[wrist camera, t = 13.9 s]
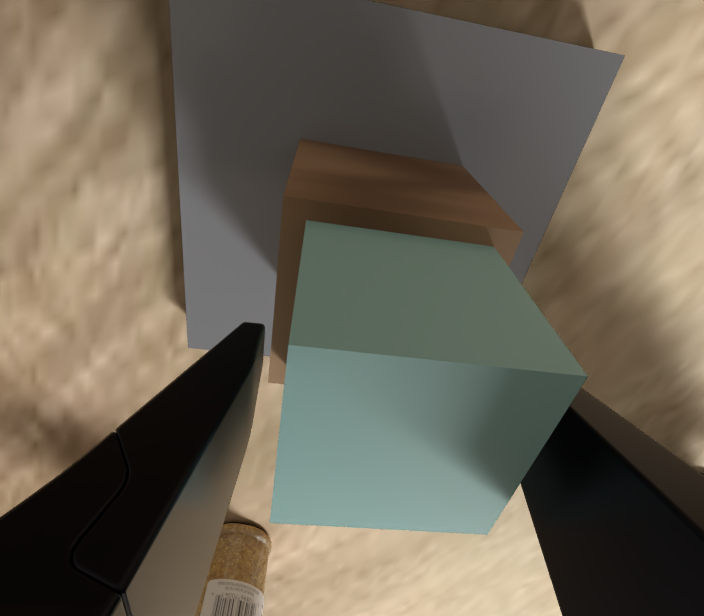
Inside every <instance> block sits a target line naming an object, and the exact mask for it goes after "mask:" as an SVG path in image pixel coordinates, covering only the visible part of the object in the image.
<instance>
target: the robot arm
mask: <svg viewBox="0 0 704 616" xmlns="http://www.w3.org/2000/svg"><path fill="white" fill-rule="evenodd" d="M264 340H265V326H264V325H263V324H260V323H252V322H243V323H242V324H240V325H239V326H238V327H237V328H236V329H234V330H233V331H232V332H231V333H230V334H228V335H227V336H226V337H225V338H224V339H222V340H221V341H220V342H219V343H218V344H217V345H215V346H214V347H213V348H212V349H211V350H209V351H208V352H207V353H206V354H205V355H203V356H202V357H201V358H200V359H199V360H197V361H196V362H195V363H194V364H193V365H191V366H190V367H189V368H188V369H187V370H186V371H184V372H183V373H182V374H181V375H180V376H178V377H177V378H176V379H175V380H174V381H172V382H171V383H170V384H169V385H168V386H166V387H165V388H164V389H163V390H162V391H160V392H159V393H158V394H157V395H156V396H155V397H153V398H152V399H151V400H150V401H149V402H147V403H146V404H145V405H144V406H143V407H141V408H140V409H139V410H138V411H137V412H135V413H134V414H133V415H132V416H131V417H129V418H128V419H127V420H126V421H125V422H124V423H122V424H121V425H120V426H119V427H118V428H116V433H115V432H112V433H110V434H109V435H108V436H107V437H105V438H104V439H103V440H102V441H101V442H99V443H98V444H97V445H96V446H95V447H93V448H92V449H91V450H90V451H88V452H87V453H86V454H85V455H83V456H82V457H81V458H80V459H78V460H77V461H76V462H75V463H73V464H72V465H71V466H70V467H68V468H67V469H66V470H65V471H63V472H62V473H61V474H60V475H58V476H57V477H55V478H54V479H53V480H51V481H50V482H49V483H47V484H46V485H44V486H43V487H42V488H40V489H39V490H38V491H36V492H35V493H34V494H32V495H31V496H29V497H28V498H27V499H25V500H24V501H23V502H21V503H20V504H18V505H17V506H16V507H14V508H13V509H11V510H10V511H8V512H7V513H6V514H4V515H3V516H1V517H0V616H195V614H196V611H197V608H198V604H199V601H200V598H201V595H202V591H203V588H204V585H205V582H206V578H207V575H208V572H209V569H210V565H211V562H212V559H213V556H214V552H215V549H216V546H217V543H218V539H219V536H220V533H221V530H222V526H223V523H224V520H225V517H226V513H227V510H228V507H229V504H230V500H231V497H232V494H233V491H234V487H235V484H236V481H237V478H238V474H239V471H240V468H241V465H242V461H243V458H244V455H245V452H246V448H247V445H248V441H249V437H250V433H251V428H252V423H253V417H254V411H255V406H256V400H257V394H258V388H259V382H260V376H261V371H262V364H263V354H264ZM521 486H522V489H523V492H524V496H525V499H526V502H527V505H528V508H529V511H530V515H531V518H532V521H533V524H534V527H535V530H536V534H537V537H538V540H539V543H540V546H541V549H542V553H543V556H544V559H545V562H546V565H547V568H548V572H549V575H550V578H551V581H552V584H553V587H554V591H555V594H556V597H557V600H558V603H559V606H560V610H561V613H562V616H704V475H702V474H701V473H699V472H698V471H697V470H695V469H694V468H692V467H691V466H690V465H688V464H687V463H686V462H684V461H683V460H681V459H680V458H679V457H677V456H676V455H674V454H673V453H672V452H670V451H669V450H667V449H666V448H665V447H663V446H662V445H660V444H659V443H658V442H656V441H655V440H653V439H652V438H651V437H649V436H648V435H646V434H645V433H644V432H642V431H641V430H640V429H638V428H637V427H635V426H634V425H633V424H631V423H630V422H628V421H627V420H626V419H624V418H623V417H621V416H620V415H619V414H617V413H616V412H614V411H613V410H612V409H610V408H609V407H608V406H606V405H605V404H603V403H602V402H601V401H599V400H598V399H596V398H595V397H594V396H592V395H591V394H589V393H588V392H587V391H585V390H584V389H582V388H580V390H579V391H578V393H577V395H576V396H575V398H574V399H573V401H572V402H571V404H570V406H569V407H568V409H567V410H566V412H565V413H564V415H563V417H562V418H561V420H560V421H559V423H558V424H557V426H556V428H555V429H554V431H553V432H552V434H551V435H550V437H549V439H548V440H547V442H546V443H545V445H544V446H543V448H542V450H541V451H540V453H539V454H538V456H537V457H536V459H535V461H534V462H533V464H532V465H531V467H530V468H529V470H528V472H527V473H526V475H525V476H524V478H523V479H522V481H521Z"/></svg>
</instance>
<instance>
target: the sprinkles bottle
mask: <svg viewBox="0 0 704 616" xmlns="http://www.w3.org/2000/svg"><path fill="white" fill-rule="evenodd" d="M270 551H271V541H270V538H269V537H268V536H267V535H266V533H265V532H264V531H262V530H260V529H258V528H256V527H254V526H251V525H245V524H239V523H227V524H223V526H222V530H221V533H220V536H219V539H218V543H217V546H216V549H215V552H214V556H213V559H212V562H211V565H210V569H209V572H208V575H207V578H206V582H205V585H204V588H203V591H202V595H201V598H200V601H199V604H198V608H197V611H196V614H195V616H262V614H263V606H264V589H265V578H266V571H267V562H268V556H269V554H270Z"/></svg>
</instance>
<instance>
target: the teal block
mask: <svg viewBox="0 0 704 616" xmlns="http://www.w3.org/2000/svg"><path fill="white" fill-rule="evenodd" d="M587 377H588V375H587V374H586V373H585V371H584V370H583V369H582V367H581V366H580V364H579V363H578V362H577V360H576V359H575V358H574V356H573V355H572V353H571V352H570V351H569V349H568V348H567V347H566V345H565V344H564V342H563V341H562V340H561V338H560V337H559V336H558V334H557V333H556V331H555V330H554V329H553V327H552V326H551V325H550V323H549V322H548V320H547V319H546V318H545V316H544V315H543V314H542V312H541V311H540V309H539V308H538V307H537V305H536V304H535V303H534V301H533V300H532V298H531V297H530V296H529V294H528V293H527V292H526V290H525V289H524V287H523V286H522V285H521V283H520V282H519V281H518V279H517V278H516V276H515V275H514V274H513V272H512V271H511V270H510V268H509V267H508V265H507V264H506V263H505V261H504V260H503V258H502V257H501V256H500V254H499V253H498V252H497V250H496V249H495V247H493V246H486V245H479V244H472V243H465V242H458V241H451V240H443V239H436V238H429V237H422V236H415V235H408V234H401V233H394V232H387V231H380V230H373V229H365V228H358V227H351V226H344V225H337V224H330V223H323V222H316V221H309V220H306V225H305V232H304V239H303V246H302V253H301V260H300V267H299V274H298V281H297V288H296V295H295V302H294V309H293V316H292V323H291V330H290V337H289V344H288V354H287V363H286V373H285V382H284V392H283V402H282V411H281V421H280V430H279V440H278V449H277V459H276V469H275V478H274V488H273V497H272V507H271V517H270V523H279V524H298V525H316V526H335V527H353V528H372V529H391V530H409V531H428V532H446V533H465V534H483V535H487V534H488V533H489V531H490V530H491V528H492V527H493V525H494V523H495V522H496V520H497V519H498V517H499V516H500V514H501V512H502V511H503V509H504V508H505V506H506V505H507V503H508V501H509V500H510V498H511V497H512V495H513V494H514V492H515V490H516V489H517V487H518V486H519V484H520V483H521V481H522V479H523V478H524V476H525V475H526V473H527V472H528V470H529V468H530V467H531V465H532V464H533V462H534V461H535V459H536V457H537V456H538V454H539V453H540V451H541V450H542V448H543V446H544V445H545V443H546V442H547V440H548V439H549V437H550V435H551V434H552V432H553V431H554V429H555V428H556V426H557V424H558V423H559V421H560V420H561V418H562V417H563V415H564V413H565V412H566V410H567V409H568V407H569V406H570V404H571V402H572V401H573V399H574V398H575V396H576V395H577V393H578V391H579V390H580V388H581V387H582V385H583V384H584V382H585V380H586V379H587Z"/></svg>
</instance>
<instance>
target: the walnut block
mask: <svg viewBox="0 0 704 616" xmlns="http://www.w3.org/2000/svg"><path fill="white" fill-rule="evenodd" d="M306 220H309V221H316V222H323V223H330V224H337V225H344V226H351V227H358V228H365V229H373V230H380V231H387V232H394V233H401V234H408V235H415V236H422V237H429V238H436V239H443V240H451V241H458V242H465V243H472V244H479V245H486V246H493V247H495V249H496V250H497V252H498V253H499V254H500V256H501V257H502V258H503V260H504V261H505V263H506V264H507V265H508V267H509V266H510V263H511V261H512V259H513V256H514V254H515V252H516V249H517V247H518V245H519V242H520V240H521V237H522V235H523V233H524V232H523V230H522V229H521V228H520V227H519V226H518V225H517V224H516V223H515V222H514V221H513V220H512V219H511V217H510V216H509V215H508V214H507V213H506V212H505V211H504V210H503V209H502V208H501V207H500V206H499V205H498V203H497V202H496V201H495V200H494V199H493V198H492V197H491V196H490V195H489V194H488V193H487V192H486V190H485V189H484V188H483V187H482V186H481V185H480V184H479V183H478V182H477V181H476V180H475V179H474V177H473V176H472V175H471V174H470V173H469V172H468V171H467V170H466V169H465V168H464V167H463V166H460V165H454V164H448V163H442V162H436V161H430V160H424V159H419V158H413V157H407V156H401V155H395V154H389V153H383V152H377V151H371V150H365V149H359V148H353V147H347V146H341V145H335V144H329V143H323V142H317V141H311V140H305V139H300V141H299V144H298V148H297V151H296V155H295V158H294V161H293V165H292V168H291V171H290V175H289V178H288V181H287V185H286V188H285V192H284V195H283V205H282V218H281V230H280V242H279V255H278V267H277V280H276V292H275V304H274V317H273V329H272V342H271V354H270V366H269V379H268V383H278V384H284V382H285V373H286V363H287V354H288V344H289V337H290V330H291V323H292V316H293V309H294V302H295V295H296V288H297V281H298V274H299V267H300V260H301V253H302V246H303V239H304V232H305V225H306Z"/></svg>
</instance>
